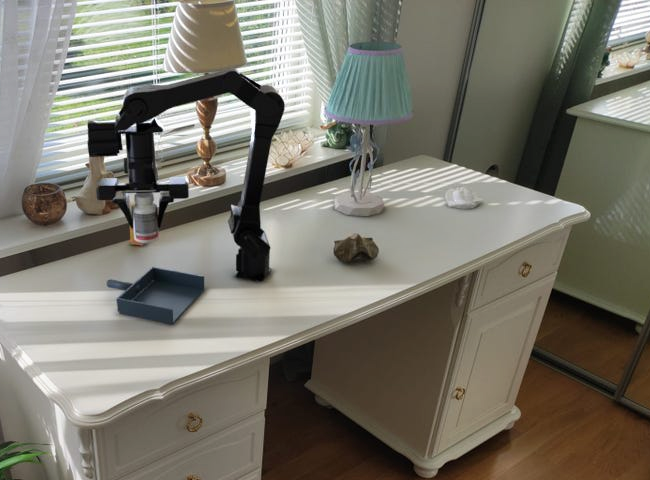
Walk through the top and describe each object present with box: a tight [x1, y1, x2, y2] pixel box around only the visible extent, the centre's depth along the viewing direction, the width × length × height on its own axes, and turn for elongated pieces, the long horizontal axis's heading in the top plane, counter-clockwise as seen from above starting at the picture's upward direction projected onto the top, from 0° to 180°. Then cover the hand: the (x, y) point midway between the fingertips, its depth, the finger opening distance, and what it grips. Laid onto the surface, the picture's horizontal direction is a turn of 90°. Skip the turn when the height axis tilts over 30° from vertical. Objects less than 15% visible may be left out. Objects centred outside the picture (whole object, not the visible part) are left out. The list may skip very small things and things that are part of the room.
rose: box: [444, 186, 484, 210], centre depth 191 cm, size 10×4×10 cm
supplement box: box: [129, 201, 146, 247], centre depth 173 cm, size 3×3×10 cm
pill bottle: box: [132, 193, 160, 244], centre depth 150 cm, size 5×5×10 cm
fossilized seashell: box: [332, 232, 380, 263], centre depth 163 cm, size 8×7×10 cm
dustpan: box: [106, 266, 205, 326], centre depth 150 cm, size 19×16×3 cm
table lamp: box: [324, 41, 415, 217], centre depth 180 cm, size 22×22×40 cm
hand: (146, 227), depth 152 cm, fingers closed on pill bottle, 5 cm apart
